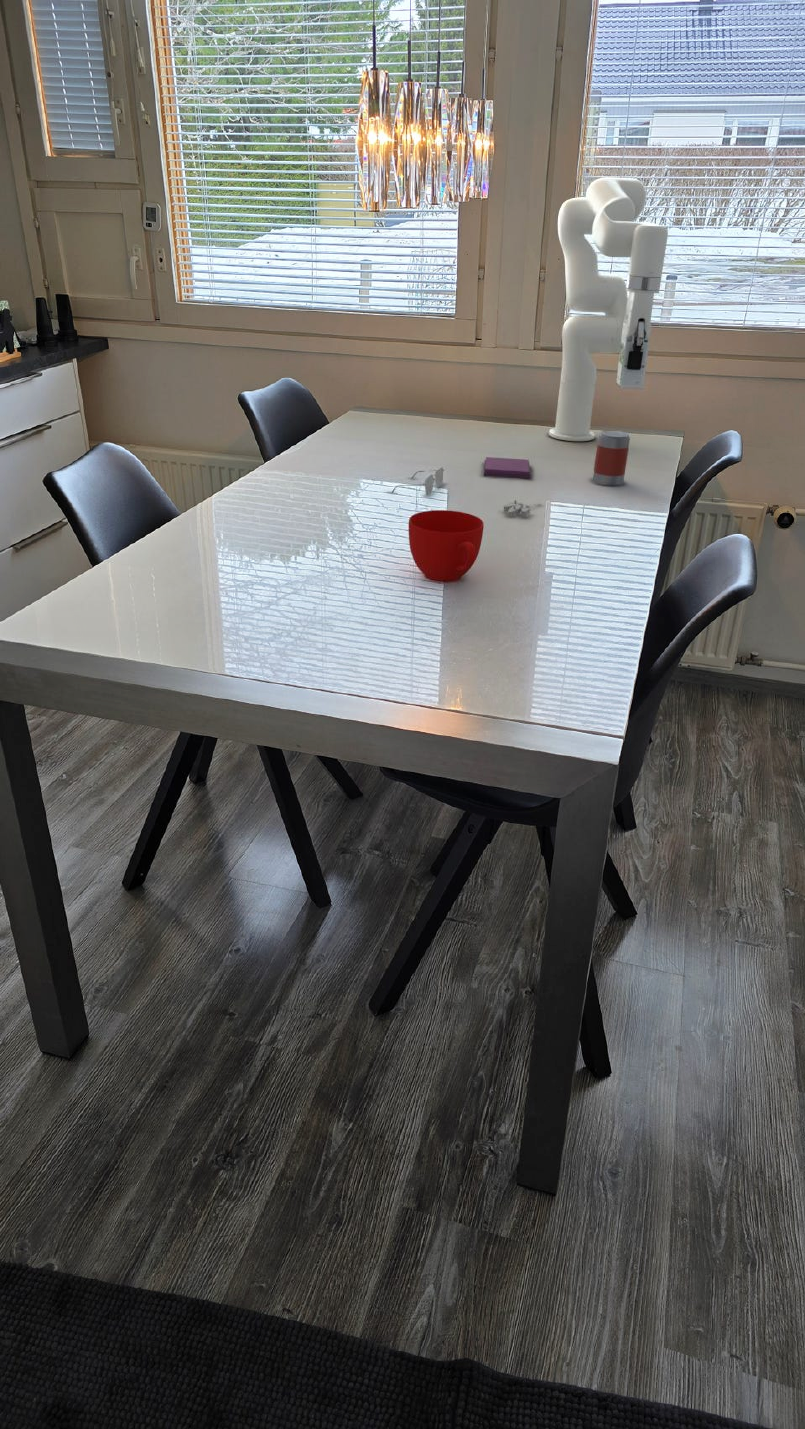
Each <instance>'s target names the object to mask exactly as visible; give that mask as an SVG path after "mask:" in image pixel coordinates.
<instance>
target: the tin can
mask: <svg viewBox="0 0 805 1429" xmlns="http://www.w3.org/2000/svg"><path fill="white" fill-rule="evenodd" d="M630 440H631V436H630V434H629V433H627V432H624V431H620V430H603V431H600V432H599V433H598V437H597V443H596V450H595V458H594V464H593V473H592V482H593V483H594V484H597V485H601V486H607V487H619V486H622V485H624V481H625V475H626V469H627V463H628V462H627V461H628V456H629V455H628V454H629V449H630V448H629V447H630Z"/></svg>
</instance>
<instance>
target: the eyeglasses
mask: <svg viewBox="0 0 805 1429" xmlns="http://www.w3.org/2000/svg"><path fill="white" fill-rule="evenodd" d="M422 472H423V473H424V472H425V470H419V471H416V472H415V473H414V474H413V476H412V477H411V479H414V477H415V476H416V474H418V473H422ZM430 472H435V473H434V474H430V475H429V476H428V477H427V478H426V479H425V480H424V483H422V484H421V483H420V484H419V483H418V484H417V483H416V486H424V490H425V495H426V496H430V495H431V493H432V492H433V488H434V484H435V486H436V487H437V488H440V487H441V486H442V485H443V482H444V472H445V469H444V467H440V468H438V469H434V470H430ZM410 486H414V487H415V484H403V485H401V484H399V485H396V486H395V487H394V488H393V489H392V491H391V493H393V492H395V490H396V489H397V487H398V488H399V487H410Z"/></svg>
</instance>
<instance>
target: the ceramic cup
mask: <svg viewBox="0 0 805 1429" xmlns="http://www.w3.org/2000/svg"><path fill="white" fill-rule="evenodd" d="M484 526H485V525H484V521H483V520H482V519H481V518H480V517H478V516H476V515H473V514H471V513H467V512H462V511H458V510H448V509H447V510H446V509H439V510H438V509H437V510H436V509H434V510H425V511H420V512H417V513H414V514H412V515H411V516H410V517H409V519H408V544H409V550H410V554H411V556H412V559H413V562H414V564H415V565H416V567H417V568H418V570H419V571H420V573H422V575H423V576H424V578H425V579H427V580H429V581H432V582H435V583H455V582H458V581H459V580H461V579H462V577H464V576H465V575H466V574H467V573H468V572H469V571H470V570H471V569H472V567H473V565H474V564H475V562H476V560H477V558H478V556H479V553H480V550H481V545H482V541H483V535H484V528H485V527H484Z"/></svg>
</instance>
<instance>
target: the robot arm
mask: <svg viewBox="0 0 805 1429" xmlns="http://www.w3.org/2000/svg"><path fill="white" fill-rule="evenodd" d="M646 200H647V191H646V187H645V185H644V184H643V182H642V181H641V180H639V179H637V178H632V177H631V178H630V177H627V178H626V177H623V178H622V177H612V176H611V177H609V176H606V177H600V178H596V179H595V180H593V181H592V182H591V184H589V186H588V187H587V190H586V193H585V197H583V196H582V197H581V196H580V197H579V196H578V197H573V198H570V199H567V200H565V201H564V202H563V203H562V204H561V207H560V209H559V211H558V217H557V233H558V239H559V243H560V246H561V249H562V250H561V251H562V253H563V257H564V270H565V272H564V274H565V295H566V296H565V297H566V298H565V299H566V303H567V306H568V308H569V309H570V311H573V312H579V313H604V315H600V314H599V315H598V314H577V315H573V316H570V317H568V318H567V319H566V320H565V321H564V323H563V325H562V331H561V342H562V343H561V344H562V345H561V346H562V357H561V371H560V382H559V388H558V389H559V390H558V400H557V407H556V416H555V417H556V418H555V426H554V428H553V427H552V428H550V429H549V431H548V435H549V437H551V438H553V439H556V440H560V441H561V440H562V441H569V442H589V441H593V440H594V439H595V435H596V434H595V433H594V431H591V422H592V414H593V408H594V407H593V406H594V399H595V391H596V383H597V377H598V376H597V375H598V372H597V366H596V365H595V363H594V361H593V359H592V358H591V355H597V354H598V355H599V354H606V355H610V354H611V355H612V354H613V355H614V354H620V346H621V338H622V330H623V323H624V321H625V323H626V330H625V336H626V337H627V338H629V337H630V336H632V339H631V349H630V351H629V354H628V361H627V369H629V370H640V369H641V363H642V356H643V345H644V339H646V338H647V337H648V333H649V327H650V324H651V321H652V315H653V314H652V313H653V307H654V299H655V298H654V297H655V294H660V291H661V290H660V289H661V282H662V276H663V270H664V269H663V268H664V263H665V257H666V256H665V255H666V251H667V250H666V249H667V243H668V236H669V231H668V228H667V226H664V225H661V224H657V223H654V222H649V221H636V219H638V217H639V216H640V215H641V213H642V212H643V210H644V208H645V206H646ZM585 235H592V241H593V244H594V245H595V247H596V249H597V251H599V253H600V254H602V255H603V256H605V257H609V258H629V264H628V272H627V280H626V281H625V279H624V278H623V277H622V276H620V275H619V274H616V273H601V272H599V265H598V264H599V262H598V253H597V251H596V250H595V248H594V246H593V244H592V243H591V241H589V239H588V238H587V237H586V236H585ZM637 326H638V327H637ZM645 332H646V335H644V334H645ZM634 335H637V337H634ZM644 337H645V338H644ZM634 341H635V342H634Z"/></svg>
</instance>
